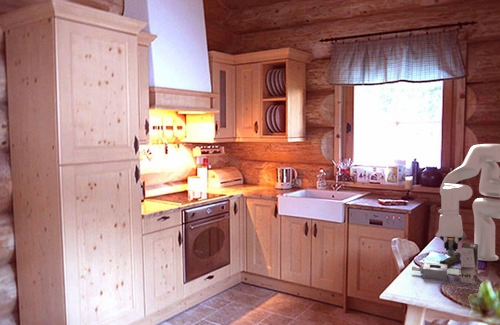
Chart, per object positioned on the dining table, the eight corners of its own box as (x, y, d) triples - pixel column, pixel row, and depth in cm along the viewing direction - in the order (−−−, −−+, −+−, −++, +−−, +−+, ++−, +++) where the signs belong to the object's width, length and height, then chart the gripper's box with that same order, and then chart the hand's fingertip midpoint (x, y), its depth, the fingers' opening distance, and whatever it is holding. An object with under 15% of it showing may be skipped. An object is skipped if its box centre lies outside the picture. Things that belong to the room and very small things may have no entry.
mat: (441, 268, 208) (441, 267, 208) (459, 270, 204) (459, 269, 204) (440, 273, 201) (440, 272, 201) (459, 275, 197) (459, 274, 197)
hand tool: (447, 269, 207) (447, 260, 206) (439, 267, 210) (439, 258, 209) (465, 261, 218) (465, 252, 218) (457, 259, 221) (457, 251, 221)
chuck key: (447, 254, 205) (447, 236, 204) (455, 254, 203) (454, 236, 202) (447, 256, 202) (447, 237, 201) (454, 256, 200) (454, 238, 199)
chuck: (413, 271, 205) (413, 261, 205) (447, 274, 198) (447, 264, 198) (411, 277, 196) (411, 267, 196) (446, 281, 189) (446, 271, 189)
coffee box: (476, 285, 185) (477, 248, 184) (460, 282, 188) (460, 247, 187) (478, 278, 192) (478, 243, 191) (462, 276, 196) (462, 242, 195)
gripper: (431, 213, 201) (432, 251, 203) (469, 215, 193) (470, 254, 195) (431, 210, 207) (432, 246, 209) (469, 211, 200) (470, 249, 202)
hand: (451, 249), depth 202 cm, fingers closed on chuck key, 3 cm apart
